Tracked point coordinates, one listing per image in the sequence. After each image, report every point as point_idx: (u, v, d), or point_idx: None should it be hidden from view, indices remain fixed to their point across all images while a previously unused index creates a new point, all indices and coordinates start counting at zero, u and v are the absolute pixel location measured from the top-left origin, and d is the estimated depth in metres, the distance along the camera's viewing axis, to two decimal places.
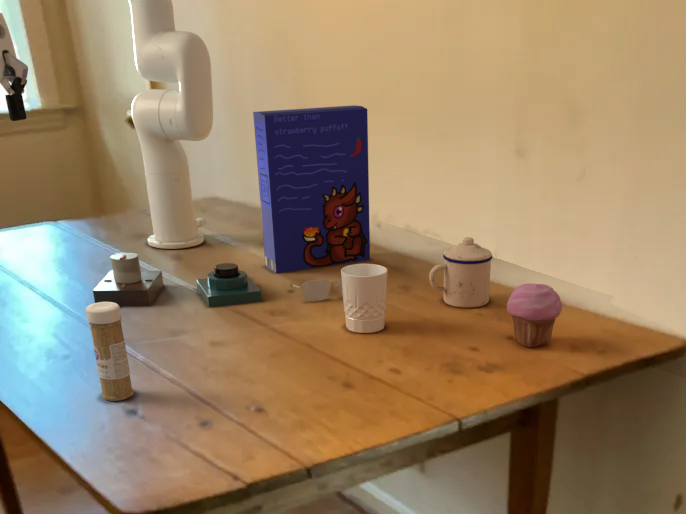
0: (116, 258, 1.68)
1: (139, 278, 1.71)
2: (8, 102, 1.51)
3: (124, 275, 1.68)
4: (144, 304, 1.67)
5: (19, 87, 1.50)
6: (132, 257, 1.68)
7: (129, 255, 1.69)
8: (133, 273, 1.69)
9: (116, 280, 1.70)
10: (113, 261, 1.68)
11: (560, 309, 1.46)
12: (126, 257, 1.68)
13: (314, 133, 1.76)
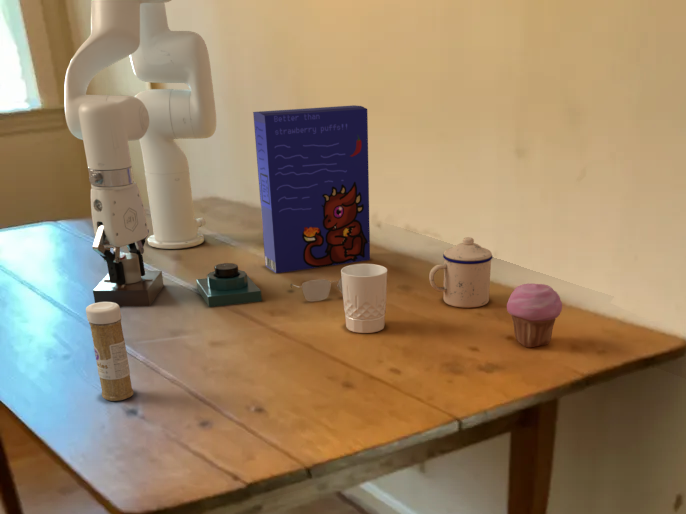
0: None
1: (139, 278, 1.71)
2: (108, 266, 1.68)
3: None
4: (144, 304, 1.67)
5: (104, 257, 1.65)
6: (132, 257, 1.68)
7: (129, 255, 1.69)
8: (133, 273, 1.69)
9: None
10: None
11: (560, 309, 1.46)
12: (126, 257, 1.68)
13: (314, 133, 1.76)
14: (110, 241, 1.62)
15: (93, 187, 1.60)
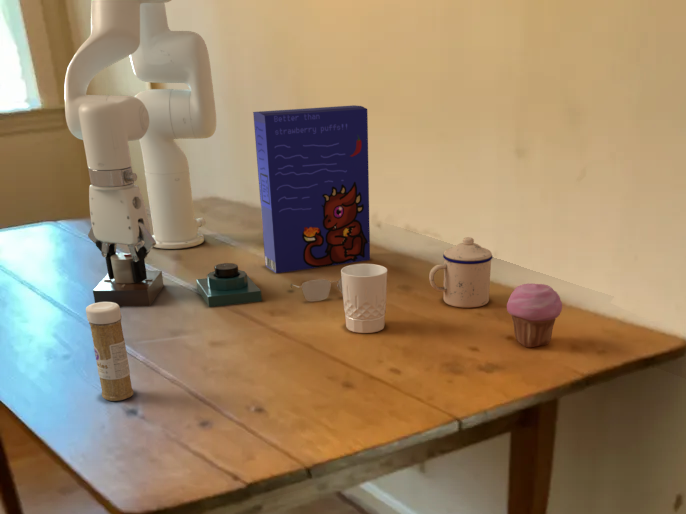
0: (131, 257, 1.68)
1: None
2: (133, 267, 1.68)
3: None
4: (144, 304, 1.67)
5: (143, 255, 1.67)
6: None
7: (123, 254, 1.70)
8: None
9: None
10: None
11: (560, 309, 1.46)
12: None
13: (314, 133, 1.76)
14: None
15: (122, 187, 1.60)
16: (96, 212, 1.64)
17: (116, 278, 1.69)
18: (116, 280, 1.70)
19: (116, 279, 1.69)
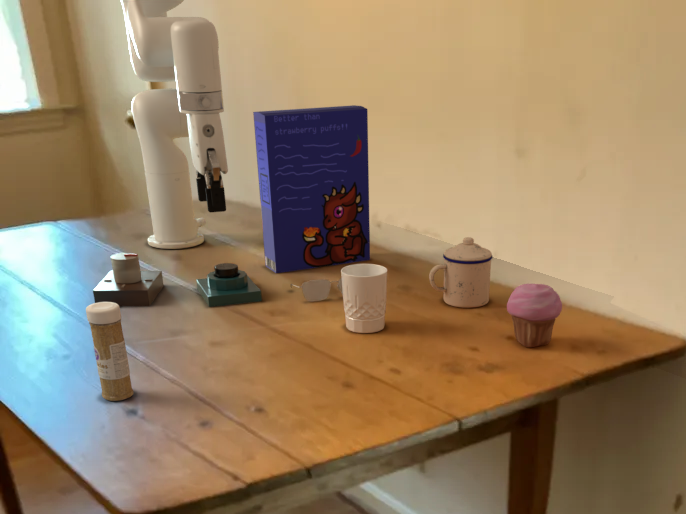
0: (132, 257, 1.68)
1: None
2: (206, 195, 1.59)
3: None
4: (144, 304, 1.67)
5: (213, 183, 1.56)
6: (131, 253, 1.71)
7: (123, 254, 1.70)
8: None
9: (135, 280, 1.70)
10: (133, 261, 1.68)
11: (560, 309, 1.46)
12: None
13: (314, 133, 1.76)
14: (222, 167, 1.57)
15: (196, 112, 1.53)
16: (189, 137, 1.60)
17: (116, 278, 1.69)
18: (116, 280, 1.70)
19: (116, 279, 1.69)
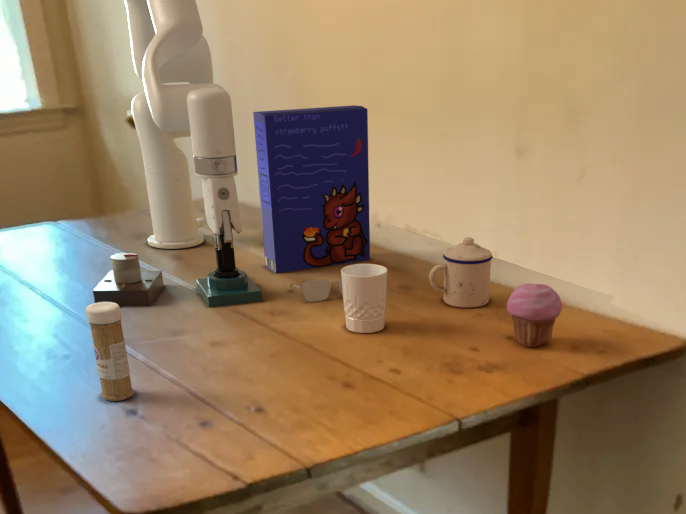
0: (132, 257, 1.68)
1: None
2: (217, 255, 1.68)
3: None
4: (144, 304, 1.67)
5: (224, 245, 1.66)
6: (131, 253, 1.71)
7: (123, 254, 1.70)
8: None
9: (135, 280, 1.70)
10: (133, 261, 1.68)
11: (560, 309, 1.46)
12: None
13: (314, 133, 1.76)
14: (236, 228, 1.63)
15: (212, 176, 1.58)
16: (203, 197, 1.65)
17: (116, 278, 1.69)
18: (116, 280, 1.70)
19: (116, 279, 1.69)
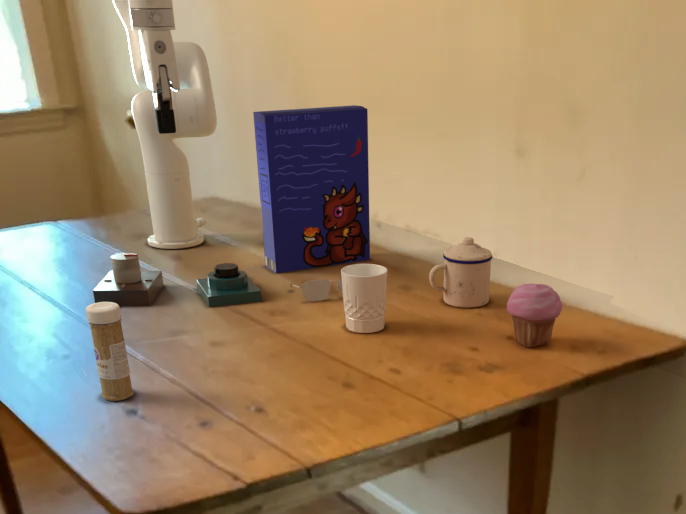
0: (132, 257, 1.68)
1: None
2: (156, 116, 1.67)
3: None
4: (144, 304, 1.67)
5: (163, 104, 1.65)
6: (131, 253, 1.71)
7: (123, 254, 1.70)
8: None
9: (135, 280, 1.70)
10: (133, 261, 1.68)
11: (560, 309, 1.46)
12: None
13: (314, 133, 1.76)
14: (174, 85, 1.62)
15: (147, 29, 1.57)
16: (142, 56, 1.64)
17: (116, 278, 1.69)
18: (116, 280, 1.70)
19: (116, 279, 1.69)
